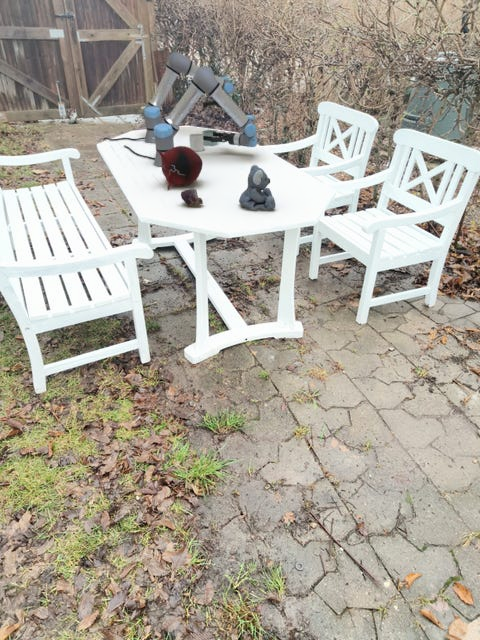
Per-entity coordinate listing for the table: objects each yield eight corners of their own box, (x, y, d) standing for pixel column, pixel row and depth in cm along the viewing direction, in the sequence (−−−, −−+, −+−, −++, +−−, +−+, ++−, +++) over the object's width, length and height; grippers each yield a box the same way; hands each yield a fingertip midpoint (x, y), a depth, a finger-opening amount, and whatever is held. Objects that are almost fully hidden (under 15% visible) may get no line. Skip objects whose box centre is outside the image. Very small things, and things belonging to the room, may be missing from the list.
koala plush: (276, 211, 223) (277, 171, 212) (240, 212, 222) (240, 172, 211) (271, 199, 237) (272, 161, 226) (237, 200, 236) (237, 162, 225)
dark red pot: (160, 151, 264) (154, 150, 240) (199, 143, 263) (196, 140, 240) (169, 188, 271) (164, 190, 247) (207, 180, 270) (206, 181, 246)
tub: (199, 144, 338) (199, 131, 333) (210, 141, 344) (209, 129, 339) (209, 146, 332) (209, 133, 327) (220, 143, 338) (219, 131, 333)
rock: (196, 202, 238) (178, 205, 233) (194, 185, 234) (176, 188, 230) (205, 205, 228) (187, 208, 224) (203, 188, 224) (185, 191, 220)
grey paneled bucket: (187, 150, 323) (186, 135, 318) (197, 147, 329) (196, 132, 323) (196, 152, 318) (195, 137, 312) (206, 149, 324) (205, 134, 318)
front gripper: (226, 149, 299) (199, 145, 307) (243, 141, 318) (216, 137, 325) (226, 137, 295) (199, 133, 303) (243, 129, 314) (216, 126, 321)
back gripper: (236, 107, 348) (228, 112, 331) (205, 106, 353) (196, 111, 337) (236, 96, 344) (228, 101, 327) (205, 95, 349) (196, 100, 332)
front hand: (208, 135), depth 314 cm, fingers open, 13 cm apart
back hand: (212, 106), depth 332 cm, fingers open, 13 cm apart
